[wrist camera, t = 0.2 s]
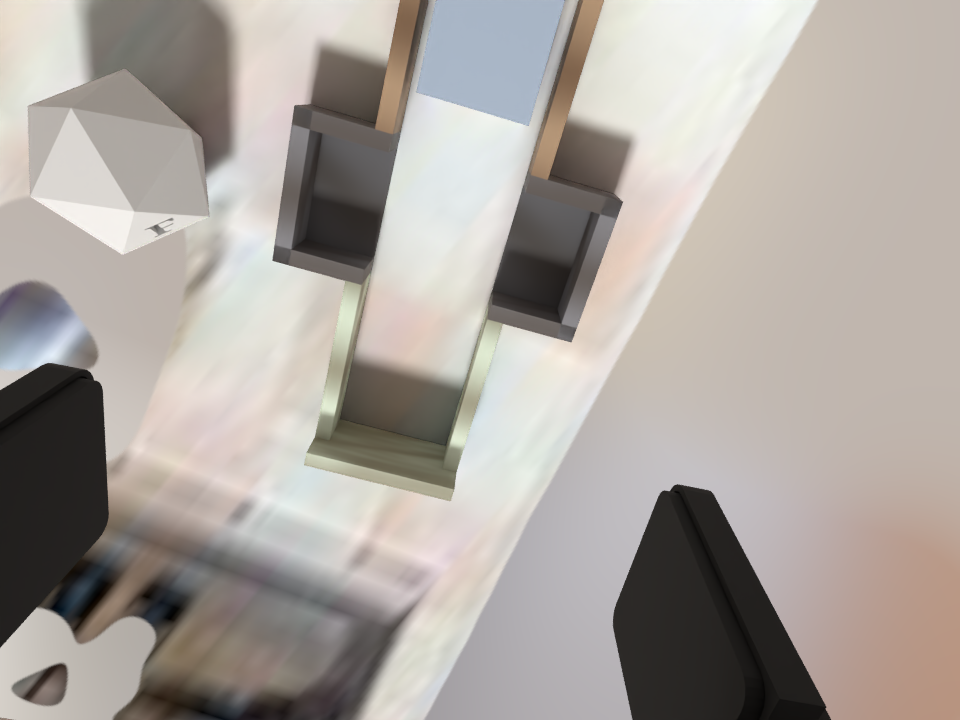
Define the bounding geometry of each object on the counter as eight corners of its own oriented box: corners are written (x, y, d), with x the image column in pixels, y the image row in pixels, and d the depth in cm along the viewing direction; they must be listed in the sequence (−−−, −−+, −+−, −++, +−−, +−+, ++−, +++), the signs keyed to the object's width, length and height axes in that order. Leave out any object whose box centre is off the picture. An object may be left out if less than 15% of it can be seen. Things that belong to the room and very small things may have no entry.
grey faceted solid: (94, 211, 40) (109, 306, 34) (-15, 81, 33) (-21, 172, 27) (218, 159, 41) (253, 242, 35) (138, 23, 34) (165, 97, 28)
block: (452, -24, 34) (444, -42, 29) (557, 9, 34) (565, -3, 29) (427, 91, 36) (416, 92, 31) (525, 121, 36) (528, 125, 32)
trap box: (345, -128, 32) (319, -165, 27) (689, -16, 33) (719, -33, 29) (263, 411, 45) (236, 448, 40) (513, 475, 46) (514, 517, 42)
